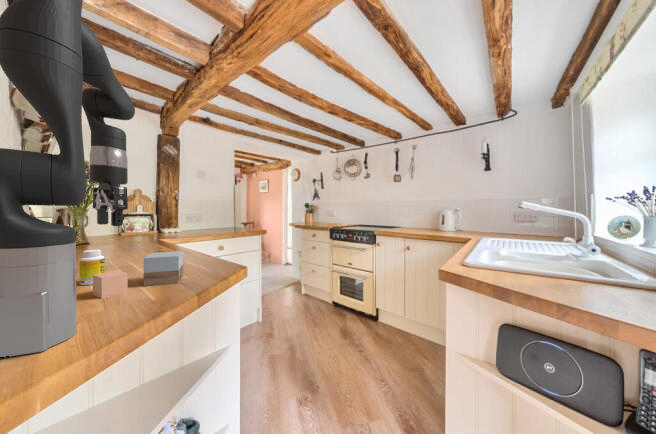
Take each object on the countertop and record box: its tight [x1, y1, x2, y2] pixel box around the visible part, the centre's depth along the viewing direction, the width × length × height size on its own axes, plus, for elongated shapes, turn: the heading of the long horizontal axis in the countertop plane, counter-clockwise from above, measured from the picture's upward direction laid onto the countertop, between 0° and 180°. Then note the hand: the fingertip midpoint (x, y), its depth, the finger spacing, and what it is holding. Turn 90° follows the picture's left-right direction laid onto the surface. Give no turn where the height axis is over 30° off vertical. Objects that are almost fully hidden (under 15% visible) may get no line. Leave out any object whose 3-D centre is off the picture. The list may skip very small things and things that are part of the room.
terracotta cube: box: [92, 270, 129, 299], centre depth 64 cm, size 6×6×6 cm
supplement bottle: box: [78, 249, 106, 286], centre depth 72 cm, size 6×6×10 cm
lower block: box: [143, 264, 184, 288], centre depth 76 cm, size 9×9×4 cm
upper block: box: [143, 251, 184, 274], centre depth 76 cm, size 9×9×4 cm
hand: (109, 225), depth 64 cm, fingers open, 8 cm apart
